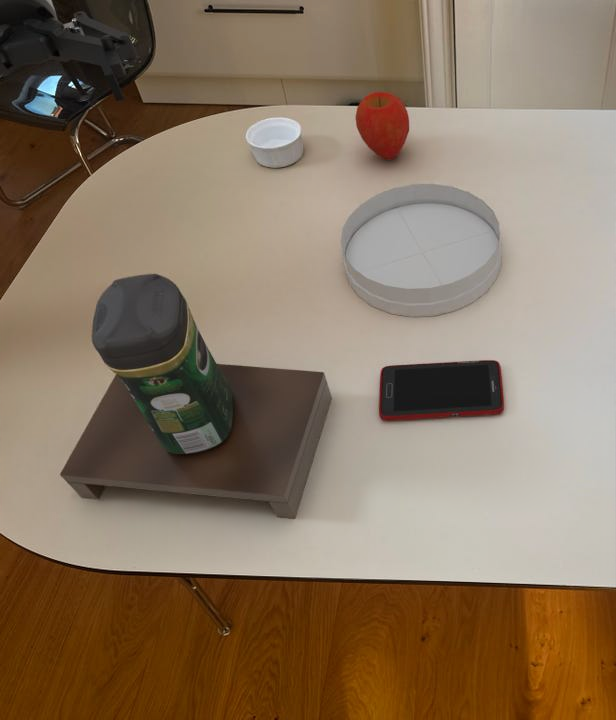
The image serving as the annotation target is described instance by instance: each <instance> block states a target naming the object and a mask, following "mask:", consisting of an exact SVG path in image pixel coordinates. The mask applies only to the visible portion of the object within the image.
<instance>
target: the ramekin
mask: <svg viewBox="0 0 616 720" xmlns="http://www.w3.org/2000/svg"><path fill="white" fill-rule="evenodd" d="M302 132H303V131H302V126H301V125H300V124H299V122H298V121H296V120H294V119H292V118H288V117H270V118H265V119H262V120H259V121H257V122H255V123H253V124H252V125H251V126H250V127H249V128H248V129H247V131H246V133H245V140H246V142H247V143H248V145H249V147H250V150H251V152H252V155H253V156H254V159H255V161H256V162H257V163H258V164H259V165H261V166H263V167H265V168H266V167H267V168H271V169H274V168H275V169H276V168H277V169H278V168H279V169H280V168H284V167H288V166H291V165H293V164H295V163H296V162H298V161H299V160H300V159H301V157H302V156H303V154H304V145H303V137H302V135H303V133H302Z"/></svg>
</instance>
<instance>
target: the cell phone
mask: <svg viewBox="0 0 616 720" xmlns="http://www.w3.org/2000/svg"><path fill="white" fill-rule="evenodd" d="M378 393H379V394H378V395H379V396H378V415H379V418H380V419H381V420H382V421H403V420H404V421H405V420H418V419H437V418H451V417H473V416H490V415H491V416H492V415H499V414H502V413H503V412H504V409H505V399H504V398H505V397H504V388H503V377H502V369H501V363H500V362H499V361H497V360H496V359H494V360H493V359H483V360H482V359H481V360H465V361H464V360H463V361H448V362H447V361H445V362H430V363H429V362H428V363H413V364H409V363H407V364H393V365H385V366H383V367H381V370H380V373H379V391H378Z"/></svg>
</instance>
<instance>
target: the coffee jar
mask: <svg viewBox="0 0 616 720" xmlns="http://www.w3.org/2000/svg"><path fill="white" fill-rule="evenodd" d="M92 319H93V320H92V329H91V342H92V345H93V347H94V349H95V351H96V352H97V353H98V354H99V356H100V357H101V360H102V361H103V363H104V365H105V366H106V367H107V368H108V369H109V370H110V371H111V372H113V373H114V374H115V375H116V374H117V375H118V376H119V378H120V379H121V380H122V382H123V383H124V385H125V386H126V388H127V389H128V391H129V393H130V394H131V396H132V397H133V399H134V400H135V402H136V404H137V405H138V407H139V408H140V410H141V412H142V413H143V415H144V417H145V419H146V420H147V422H148V424H149V426H150V427H151V429H152V431H153V432H154V434H155V436H156V437H157V439H158V440H159V442H160V443H161V445H162V447H163V448H164V449H165V450H167V451H168V452H170V453H173V454H192V453H199V452H203V451H206V450H209V449H211V448H214V447H216V446H218V445H219V444H221V443H222V442H223V441H224V440H226V438H227V437H228V436H229V433H230V431H231V427H232V419H233V399H232V393H231V389H230V387H229V385H228V383H227V381H226V379H225V377H224V376H223V374H222V372H221V370H220V369H219V367H218V365H217V364H218V363H217V362H216V360H215V358H214V356H213V354H212V353H211V351H210V349H209V347H208V346H207V343H206V342H205V339H204V338H203V336H202V333H201V332H200V329H199V327H198V326H197V323H196V321H195V318H194V316H193V314H192V312H191V309H190V307H189V304H188V302H187V300H186V298H185V297H184V295H183V294H182V291H181V290H180V288H179V287H178V286H177V285H176V283H175V282H174V281H172V280H171V279H170V278H168V277H166V276H162V275H160V274H158V273H147V274H139V275H133V276H127V277H122V278H118V279H115V280H113V281H112V283H111V284H110V285H109V286H108V287H107V288H106V289H105V290H104V291H103V292H102V294H101V295H100V297H99V298H98V300H97V303H96V306H95V310H94V314H93V318H92Z"/></svg>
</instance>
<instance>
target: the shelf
mask: <svg viewBox="0 0 616 720" xmlns="http://www.w3.org/2000/svg"><path fill="white" fill-rule="evenodd" d="M216 364H217V365H218V367H219V369H220V370H221V372H222V374H223V376H224V377H225V379H226V381H227V383H228V385H229V387H230V389H231V393H232V399H233V419H232V427H231V431H230V433H229V436H228V437H227V438H226V440H224V441H223V442H222V443H221V444H219V445H218V446H216V447H214V448H211V449H209V450H206V451H203V452H199V453H192V454H173V453H170V452H168V451H167V450H165V449H164V448H163V447H162V445H161V443H160V442H159V440H158V439H157V437H156V436H155V434H154V432H153V431H152V429H151V427H150V426H149V424H148V422H147V420H146V419H145V417H144V415H143V413H142V412H141V410H140V408H139V407H138V405H137V404H136V402H135V400H134V399H133V397H132V396H131V394H130V393H129V391H128V389H127V388H126V386H125V385H124V383H123V382H122V380H121V379H120V378H119V376H118V375H117V374H116V373H115V375H114V377H113V379H112V381H111V382H110V384H109V386H108V388H107V389H106V391H105V393H104V394H103V397H102V399H101V400H100V402H99V403H98V406H97V407H96V409H95V410H94V413H93V414H92V416H91V418H90V420H89V422H88V423H87V425H86V427H85V428H84V430H83V432H82V434H81V435H80V438H79V439H78V442H77V443H76V444H75V447H74V448H73V450H72V452H71V454H70V455H69V457H68V458H67V461H66V463H65V464H64V466H63V468H62V470H61V471H60V473H59V475H60V477H61V478H62V479H63V480H64V481H65V482H66V483H67V485H69V486H70V488H72V490H73V491H75V493H76V494H77V495H78V496H79V497H80V498H81V499H89V500H99V499H100V497H101V495H102V494H103V491H104V490H105V487H107V486H108V487H117V488H128V489H138V490H149V491H160V492H161V491H162V492H171V493H181V494H191V495H199V496H200V495H201V496H212V497H220V498H221V497H222V498H223V497H224V498H232V499H242V500H243V499H244V500H254V501H261V502H268V503H269V504H270V506H271V509H272V511H273V512H274V514H275V516H276V517H277V518H283V519H285V518H286V519H296V516H297V514H298V510H299V507H300V503H301V500H302V497H303V493H304V491H305V487H306V483H307V480H308V477H309V474H310V470H311V467H312V464H313V461H314V457H315V454H316V451H317V448H318V444H319V442H320V438H321V434H322V431H323V428H324V425H325V421H326V418H327V415H328V412H329V409H330V406H331V402H332V399H333V397H332V393H331V390H330V387H329V384H328V381H327V377H326V374H325V372H324V371H313V370H301V369H289V368H288V369H287V368H277V367H262V366H250V365H239V364H225V363H216Z"/></svg>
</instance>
